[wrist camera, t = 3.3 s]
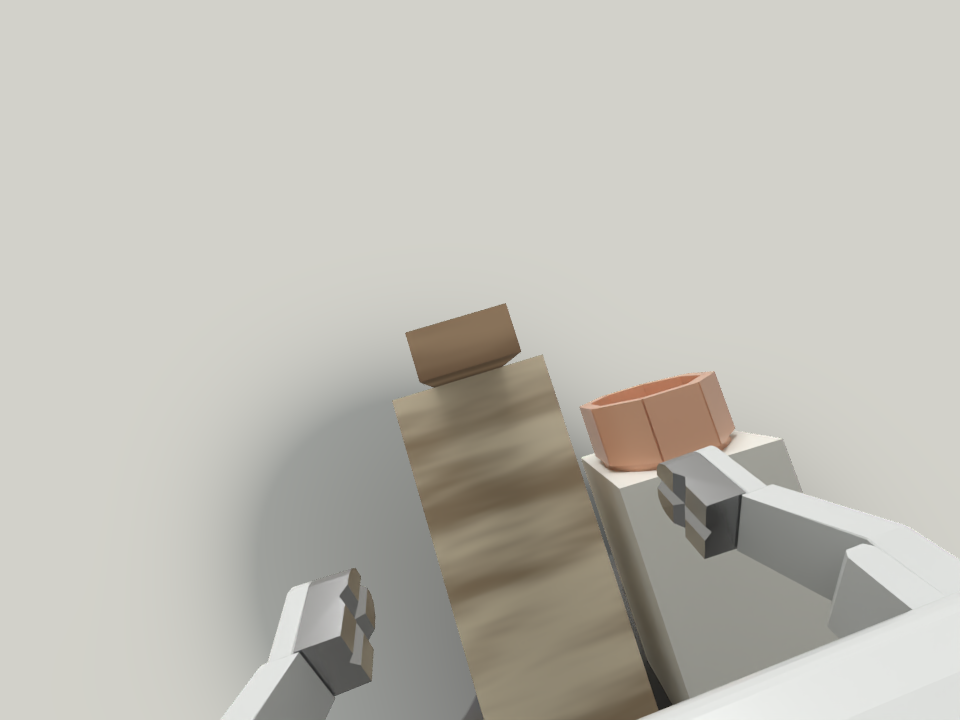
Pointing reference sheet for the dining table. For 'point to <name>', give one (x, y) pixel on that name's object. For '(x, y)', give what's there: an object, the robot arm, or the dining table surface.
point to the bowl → (658, 421)
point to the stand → (522, 550)
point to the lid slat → (463, 346)
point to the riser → (704, 582)
